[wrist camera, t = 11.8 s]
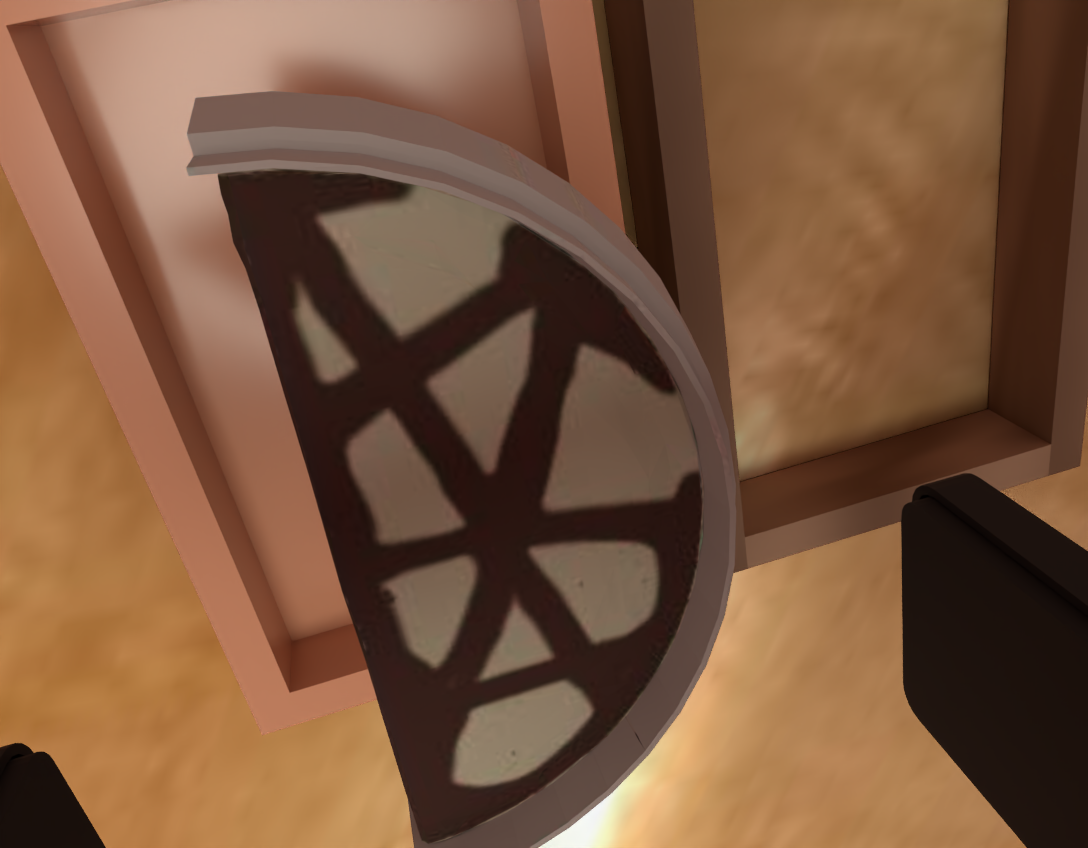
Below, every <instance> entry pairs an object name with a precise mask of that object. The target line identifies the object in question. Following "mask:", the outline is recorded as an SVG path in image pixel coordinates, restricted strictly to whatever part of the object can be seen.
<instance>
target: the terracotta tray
mask: <svg viewBox="0 0 1088 848" xmlns="http://www.w3.org/2000/svg"><path fill="white" fill-rule="evenodd" d="M267 91H280V92H294V93H308V94H323V95H337V96H351V97H360V98H364V99H368V100H372V101H377V102H381V103H385V104H389V105H394V106H398V107H402V108H407V109H411V110H415V111H419V112H424V113H428V114H432V115H436V116H439V117H441V118H444V119H446V120H448V121H451V122H453V123H456V124H458V125H461V126H463V127H465V128H468V129H470V130H473V131H475V132H478V133H480V134H482V135H485V136H487V137H490V138H492V139H495V140H497V141H499V142H502V143H504V144H507V145H508V146H510V147H512V148H513V149H515V150H517V151H518V152H520V153H521V154H523V155H525V156H526V157H528V158H529V159H531V160H533V161H534V162H536V163H538V164H539V165H541V166H542V167H544V168H546V169H547V170H549V171H551V172H552V173H554V174H555V175H557V176H559V177H560V178H562V179H563V180H565V181H567V182H568V183H570V184H571V185H572V186H573V187H574V188H575V189H576V190H578V191H579V192H580V193H581V194H582V195H583V196H584V197H585V198H587V199H588V200H589V201H590V202H591V203H592V204H593V205H595V206H596V207H597V208H598V209H599V210H600V211H601V212H603V213H604V214H605V215H606V216H607V217H608V218H609V219H611V220H612V221H613V222H614V223H615V224H616V225H617V226H618V227H620V229H621V230H622V231H623V232H624V233H625V227H624V220H623V213H622V207H621V200H620V193H619V186H618V179H617V172H616V165H615V158H614V151H613V144H612V137H611V130H610V123H609V116H608V109H607V103H606V96H605V89H604V82H603V75H602V68H601V61H600V54H599V47H598V40H597V33H596V26H595V19H594V12H593V5H592V0H0V164H1V166H2V168H3V170H4V173H5V175H6V177H7V179H8V181H9V183H10V186H11V188H12V190H13V192H14V194H15V197H16V199H17V201H18V203H19V205H20V207H21V210H22V212H23V214H24V216H25V218H26V221H27V223H28V225H29V227H30V229H31V231H32V234H33V236H34V238H35V240H36V242H37V245H38V247H39V249H40V251H41V253H42V255H43V258H44V260H45V262H46V264H47V266H48V269H49V271H50V273H51V275H52V277H53V280H54V282H55V284H56V286H57V288H58V290H59V293H60V295H61V297H62V299H63V301H64V304H65V306H66V308H67V310H68V312H69V314H70V317H71V319H72V321H73V323H74V325H75V328H76V330H77V332H78V334H79V336H80V338H81V341H82V343H83V345H84V347H85V349H86V352H87V354H88V356H89V358H90V360H91V362H92V365H93V367H94V369H95V371H96V373H97V376H98V378H99V380H100V382H101V384H102V386H103V389H104V391H105V393H106V395H107V397H108V400H109V402H110V404H111V406H112V408H113V410H114V413H115V415H116V417H117V419H118V421H119V424H120V426H121V428H122V430H123V432H124V434H125V437H126V439H127V441H128V443H129V445H130V448H131V450H132V452H133V454H134V456H135V459H136V461H137V463H138V465H139V467H140V469H141V472H142V474H143V476H144V478H145V480H146V483H147V485H148V487H149V489H150V491H151V493H152V496H153V498H154V500H155V502H156V504H157V507H158V509H159V511H160V513H161V515H162V517H163V520H164V522H165V524H166V526H167V528H168V531H169V533H170V535H171V537H172V539H173V541H174V544H175V546H176V548H177V550H178V552H179V555H180V557H181V559H182V561H183V563H184V565H185V568H186V570H187V572H188V574H189V576H190V579H191V581H192V583H193V585H194V587H195V589H196V592H197V594H198V596H199V598H200V600H201V603H202V605H203V607H204V609H205V611H206V614H207V616H208V618H209V620H210V622H211V624H212V627H213V629H214V631H215V633H216V635H217V638H218V640H219V642H220V644H221V646H222V648H223V651H224V653H225V655H226V657H227V659H228V662H229V664H230V666H231V668H232V670H233V672H234V675H235V677H236V679H237V681H238V683H239V686H240V688H241V690H242V692H243V694H244V696H245V699H246V701H247V703H248V705H249V707H250V710H251V712H252V714H253V716H254V718H255V720H256V723H257V725H258V727H259V729H260V731H261V734H262V735H264V734H268V733H271V732H274V731H277V730H280V729H284V728H287V727H290V726H293V725H297V724H300V723H303V722H306V721H309V720H313V719H316V718H319V717H322V716H325V715H329V714H332V713H335V712H338V711H342V710H345V709H348V708H351V707H354V706H358V705H361V704H364V703H367V702H370V701H374V700H377V697H376V694H375V690H374V687H373V684H372V681H371V677H370V674H369V671H368V668H367V664H366V661H365V658H364V655H363V652H362V649H361V646H360V643H359V640H358V637H357V634H356V631H355V628H354V625H353V622H352V619H351V616H350V614H349V611H348V608H347V605H346V602H345V599H344V596H343V593H342V590H341V586H340V583H339V579H338V576H337V572H336V569H335V565H334V562H333V558H332V555H331V551H330V548H329V544H328V541H327V537H326V534H325V530H324V527H323V523H322V520H321V516H320V513H319V509H318V506H317V502H316V499H315V495H314V492H313V488H312V485H311V481H310V478H309V474H308V471H307V468H306V464H305V461H304V458H303V454H302V451H301V448H300V445H299V441H298V438H297V435H296V431H295V428H294V425H293V422H292V418H291V415H290V412H289V409H288V405H287V402H286V399H285V395H284V392H283V389H282V385H281V382H280V379H279V375H278V372H277V368H276V365H275V362H274V358H273V355H272V352H271V348H270V345H269V341H268V338H267V335H266V331H265V328H264V325H263V321H262V318H261V314H260V311H259V308H258V305H257V302H256V299H255V296H254V293H253V290H252V287H251V284H250V281H249V278H248V275H247V272H246V269H245V267H244V265H243V262H242V260H241V258H240V256H239V254H238V252H237V250H236V248H235V246H234V244H233V239H232V234H231V228H230V223H229V217H228V213H227V210H226V207H225V205H224V202H223V199H222V196H221V192H220V186H219V181H218V174H220V173H216V174H205V175H195V176H189V175H188V172H187V169H186V167H187V166H188V164H189V163H190V161H191V159H192V158H193V156H194V155H193V152H192V149H191V146H190V143H189V140H188V137H187V130H188V126H189V122H190V118H191V114H192V110H193V106H194V102H195V98H198V97H210V96H221V95H233V94H244V93H256V92H267ZM625 235H626V234H625Z"/></svg>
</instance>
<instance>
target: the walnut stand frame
mask: <svg viewBox="0 0 1088 848" xmlns="http://www.w3.org/2000/svg"><path fill="white" fill-rule="evenodd" d="M604 3H605V10H606V17H607V25H608V32H609V39H610V46H611V54H612V61H613V68H614V75H615V82H616V90H617V97H618V104H619V111H620V119H621V126H622V133H623V140H624V147H625V155H626V162H627V169H628V176H629V184H630V191H631V198H632V205H633V213H634V220H635V227H636V234H637V241H638V249H639V252H640V253H641V255H642V256H643V257H644V258H645V260H646V261H647V262H648V263H649V265H650V266H651V267H652V268H653V269H654V271H655V272H656V273H657V274H658V276H659V277H660V278H661V280H662V282H663V284H664V286H665V288H666V289H667V291H668V293H669V295H670V297H671V298H672V300H673V302H674V304H675V306H676V307H677V309H678V311H679V313H680V315H681V317H682V318H683V320H684V322H685V324H686V326H687V327H688V329H689V331H690V333H691V335H692V338H693V340H694V342H695V344H696V346H697V348H698V350H699V352H700V354H701V357H702V359H703V361H704V363H705V365H706V367H707V369H708V371H709V373H710V376H711V379H712V382H713V385H714V388H715V391H716V394H717V397H718V400H719V403H720V407H721V410H722V413H723V416H724V419H725V422H726V425H727V428H728V433H729V440H730V447H731V454H732V461H733V468H734V476H735V483H736V495H735V506H736V536H735V566H734V571H733V573H735V572H738V571H742V570H745V569H748V568H751V567H754V566H758V565H761V564H764V563H767V562H771V561H774V560H777V559H780V558H784V557H787V556H790V555H793V554H797V553H800V552H803V551H806V550H810V549H813V548H816V547H819V546H823V545H826V544H829V543H832V542H835V541H839V540H842V539H845V538H848V537H852V536H855V535H858V534H861V533H865V532H868V531H871V530H874V529H878V528H881V527H884V526H887V525H891V524H894V523H897V522H900V521H901V515H902V509H903V507H904V505H905V504H907V503H909V502H912V496H913V493H914V491H915V489H916V488H918V487H919V486H921V485H924V484H928V483H931V482H935V481H938V480H942V479H946V478H949V477H953V476H956V475H960V474H963V473H971V474H973V475H976V476H978V477H979V478H981V479H982V480H984V481H985V482H987V483H988V484H990V485H991V486H993V487H994V488H996V489H997V490H998V491H1001V490H1004V489H1007V488H1010V487H1014V486H1017V485H1020V484H1023V483H1027V482H1030V481H1033V480H1036V479H1040V478H1043V477H1046V476H1049V475H1053V474H1056V473H1059V472H1062V471H1065V470H1069V469H1072V468H1075V467H1078V466H1080V461H1081V452H1082V443H1083V434H1084V425H1085V416H1086V407H1087V397H1088V0H1010V1H1009V20H1008V39H1007V58H1006V77H1005V96H1004V115H1003V134H1002V153H1001V172H1000V191H999V210H998V229H997V248H996V267H995V286H994V305H993V324H992V343H991V362H990V381H989V400H988V409H987V410H983V411H980V412H976V413H973V414H970V415H966V416H963V417H959V418H956V419H953V420H949V421H946V422H942V423H939V424H936V425H932V426H929V427H925V428H922V429H919V430H915V431H912V432H908V433H905V434H902V435H898V436H895V437H891V438H888V439H885V440H881V441H878V442H874V443H871V444H868V445H864V446H861V447H857V448H854V449H851V450H847V451H844V452H840V453H837V454H834V455H830V456H827V457H823V458H820V459H817V460H813V461H810V462H807V463H803V464H800V465H796V466H793V467H790V468H786V469H783V470H779V471H776V472H773V473H769V474H766V475H762V476H759V477H756V478H752V479H749V480H745V481H742V482H739V472H738V461H737V451H736V441H735V430H734V420H733V410H732V399H731V389H730V378H729V368H728V358H727V347H726V337H725V327H724V316H723V306H722V296H721V285H720V275H719V264H718V254H717V244H716V233H715V223H714V213H713V202H712V192H711V182H710V171H709V161H708V151H707V140H706V130H705V119H704V109H703V99H702V88H701V78H700V68H699V57H698V47H697V37H696V26H695V16H694V5H693V0H604Z"/></svg>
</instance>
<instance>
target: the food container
mask: <svg viewBox="0 0 1088 848" xmlns="http://www.w3.org/2000/svg"><path fill="white" fill-rule="evenodd" d="M187 137H188V140H189V143H190V146H191V149H192V152H193V155H194V156H193V158H192V159H191V161H190V163H189V164H188V166H187V167H186V169H187V172H188V175H189V176H195V175H205V174H216V173H220V174H218V181H219V186H220V192H221V196H222V199H223V202H224V205H225V207H226V210H227V213H228V217H229V223H230V228H231V234H232V239H233V244H234V246H235V248H236V250H237V252H238V254H239V256H240V258H241V260H242V262H243V265H244V267H245V269H246V272H247V275H248V278H249V281H250V284H251V287H252V290H253V293H254V296H255V299H256V302H257V305H258V308H259V311H260V314H261V318H262V321H263V325H264V328H265V331H266V335H267V338H268V341H269V345H270V348H271V352H272V355H273V358H274V362H275V365H276V368H277V372H278V375H279V379H280V382H281V385H282V389H283V392H284V395H285V399H286V402H287V405H288V409H289V412H290V415H291V418H292V422H293V425H294V428H295V431H296V435H297V438H298V441H299V445H300V448H301V451H302V454H303V458H304V461H305V464H306V468H307V471H308V474H309V478H310V481H311V485H312V488H313V492H314V495H315V499H316V502H317V506H318V509H319V513H320V516H321V520H322V523H323V527H324V530H325V534H326V537H327V541H328V544H329V548H330V551H331V555H332V558H333V562H334V565H335V569H336V572H337V576H338V579H339V583H340V586H341V590H342V593H343V596H344V599H345V602H346V605H347V608H348V611H349V614H350V616H351V619H352V622H353V625H354V628H355V631H356V634H357V637H358V640H359V643H360V646H361V649H362V652H363V655H364V658H365V661H366V664H367V668H368V671H369V674H370V677H371V681H372V684H373V687H374V690H375V694H376V697H377V700H378V704H379V707H380V710H381V713H382V717H383V720H384V723H385V726H386V730H387V733H388V736H389V739H390V742H391V746H392V749H393V752H394V755H395V759H396V762H397V765H398V768H399V772H400V775H401V778H402V781H403V785H404V788H405V791H406V794H407V797H408V804H409V811H410V819H411V827H412V834H413V842H414V848H538V847H540V846H541V845H543V844H545V843H546V842H548V841H549V840H551V839H552V838H554V837H555V836H557V835H559V834H560V833H562V832H563V831H565V830H566V829H568V828H569V827H571V826H572V825H573V824H574V823H576V822H577V821H578V820H579V819H581V818H582V817H583V816H584V815H585V814H587V813H588V812H589V811H590V810H592V809H593V808H594V807H595V806H596V805H598V804H599V803H600V802H601V801H603V800H604V799H605V798H606V797H607V796H609V795H610V794H611V793H612V792H613V791H614V790H615V789H616V788H617V787H618V786H619V785H620V784H621V783H622V782H623V781H624V780H625V779H626V778H627V777H628V776H629V775H630V774H631V773H632V772H633V770H634V769H635V768H636V767H637V766H638V765H639V764H640V763H641V762H642V761H643V760H644V759H645V758H646V757H647V756H648V755H649V754H650V752H651V751H652V750H653V748H654V747H655V746H656V744H657V743H658V742H659V740H660V739H661V738H662V736H663V735H664V734H665V732H666V731H667V730H668V728H669V727H670V726H671V724H672V723H673V721H674V720H675V719H676V717H677V716H678V715H679V713H680V712H681V710H682V709H683V707H684V705H685V703H686V701H687V699H688V698H689V696H690V694H691V692H692V690H693V689H694V687H695V685H696V683H697V681H698V679H699V678H700V676H701V674H702V672H703V670H704V669H705V667H706V665H707V662H708V659H709V656H710V654H711V651H712V648H713V646H714V643H715V640H716V638H717V635H718V632H719V629H720V627H721V624H722V621H723V619H724V616H725V611H726V606H727V601H728V596H729V591H730V586H731V581H732V576H733V571H734V566H735V536H736V506H735V495H736V483H735V476H734V468H733V461H732V454H731V447H730V440H729V433H728V428H727V425H726V422H725V419H724V416H723V413H722V410H721V407H720V403H719V400H718V397H717V394H716V391H715V388H714V385H713V382H712V379H711V376H710V373H709V371H708V369H707V367H706V365H705V363H704V361H703V359H702V357H701V354H700V352H699V350H698V348H697V346H696V344H695V342H694V340H693V338H692V335H691V333H690V331H689V329H688V327H687V326H686V324H685V322H684V320H683V318H682V317H681V315H680V313H679V311H678V309H677V307H676V306H675V304H674V302H673V300H672V298H671V297H670V295H669V293H668V291H667V289H666V288H665V286H664V284H663V282H662V280H661V278H660V277H659V276H658V274H657V273H656V272H655V271H654V269H653V268H652V267H651V266H650V265H649V263H648V262H647V261H646V260H645V258H644V257H643V256H642V255H641V253H640V252H639V251H638V250H637V248H636V247H635V246H634V245H633V243H632V242H631V241H630V240H629V238H628V237H627V236H626V235H625V233H624V232H623V231H622V230H621V229H620V227H618V226H617V225H616V224H615V223H614V222H613V221H612V220H611V219H609V218H608V217H607V216H606V215H605V214H604V213H603V212H601V211H600V210H599V209H598V208H597V207H596V206H595V205H593V204H592V203H591V202H590V201H589V200H588V199H587V198H585V197H584V196H583V195H582V194H581V193H580V192H579V191H578V190H576V189H575V188H574V187H573V186H572V185H571V184H570V183H568V182H567V181H565V180H563V179H562V178H560V177H559V176H557V175H555V174H554V173H552V172H551V171H549V170H547V169H546V168H544V167H542V166H541V165H539V164H538V163H536V162H534V161H533V160H531V159H529V158H528V157H526V156H525V155H523V154H521V153H520V152H518V151H517V150H515V149H513V148H512V147H510V146H508V145H507V144H504V143H502V142H499V141H497V140H495V139H492V138H490V137H487V136H485V135H482V134H480V133H478V132H475V131H473V130H470V129H468V128H465V127H463V126H461V125H458V124H456V123H453V122H451V121H448V120H446V119H444V118H441V117H439V116H436V115H432V114H428V113H424V112H419V111H415V110H411V109H407V108H402V107H398V106H394V105H389V104H385V103H381V102H377V101H372V100H368V99H364V98H360V97H351V96H337V95H323V94H308V93H294V92H280V91H267V92H256V93H244V94H233V95H221V96H210V97H198V98H195V102H194V106H193V110H192V114H191V118H190V122H189V126H188V130H187Z"/></svg>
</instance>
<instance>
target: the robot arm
mask: <svg viewBox="0 0 1088 848" xmlns="http://www.w3.org/2000/svg"><path fill="white" fill-rule="evenodd" d="M901 532H902V617H903V685H904V691H905V695H906V698H907V700H908V703H909V705H910V707H911V709H912V711H913V712H914V714H915V715H916V717H917V718H918V719H919V720H920V722H921V723H922V724H923V725H924V726H925V728H926V729H927V730H928V731H929V732H930V733H931V735H932V736H933V737H934V738H935V739H936V741H937V742H938V743H939V744H940V745H941V746H942V748H943V749H944V750H945V751H946V752H947V754H948V755H949V756H950V757H951V758H952V759H953V761H954V762H955V763H956V764H957V765H958V767H959V768H960V769H961V770H962V771H963V773H964V774H965V775H966V776H967V777H968V778H969V780H970V781H971V782H972V783H973V784H974V786H975V787H976V788H977V789H978V790H979V791H980V793H981V794H982V795H983V796H984V797H985V799H986V800H987V801H988V802H989V803H990V804H991V806H992V807H993V808H994V809H995V810H996V812H997V813H998V814H999V815H1000V816H1001V817H1002V819H1003V820H1004V821H1005V822H1006V823H1007V825H1008V826H1009V827H1010V828H1011V829H1012V830H1013V832H1014V833H1015V834H1016V835H1017V836H1018V838H1019V839H1020V840H1021V841H1022V842H1023V844H1024V845H1025V846H1026V847H1027V848H1088V551H1086V550H1085V549H1083V548H1082V547H1081V546H1079V545H1078V544H1076V543H1075V542H1073V541H1072V540H1070V539H1069V538H1067V537H1066V536H1064V535H1063V534H1061V533H1060V532H1059V531H1057V530H1056V529H1054V528H1053V527H1051V526H1050V525H1048V524H1047V523H1045V522H1044V521H1042V520H1041V519H1039V518H1038V517H1037V516H1035V515H1034V514H1032V513H1031V512H1029V511H1028V510H1026V509H1025V508H1023V507H1022V506H1020V505H1019V504H1018V503H1016V502H1015V501H1013V500H1012V499H1010V498H1009V497H1007V496H1006V495H1004V494H1003V493H1001V492H1000V491H998V490H997V489H996V488H994V487H993V486H991V485H990V484H988V483H987V482H985V481H984V480H982V479H981V478H979V477H978V476H976V475H973V474H971V473H963V474H960V475H956V476H953V477H949V478H946V479H942V480H938V481H935V482H931V483H928V484H924V485H921V486H919V487H918V488H916V489H915V491H914V493H913V496H912V502H909V503H907V504H905V505H904V507H903V509H902V515H901ZM0 848H106V847H105V846H104V844H103V842H102V841H101V839H100V837H99V836H98V834H97V832H96V831H95V829H94V827H93V826H92V824H91V822H90V821H89V819H88V817H87V815H86V814H85V812H84V810H83V809H82V807H81V805H80V804H79V802H78V800H77V799H76V797H75V795H74V794H73V792H72V790H71V789H70V787H69V785H68V784H67V782H66V780H65V779H64V777H63V775H62V774H61V772H60V770H59V769H58V767H57V765H56V764H55V762H54V760H53V759H52V758H51V757H50V755H49V754H47V753H45V752H36V753H33V752H32V750H31V749H30V748H29V747H28V746H26V745H24V744H22V743H14V744H10V745H7V746H3V747H0Z"/></svg>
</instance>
